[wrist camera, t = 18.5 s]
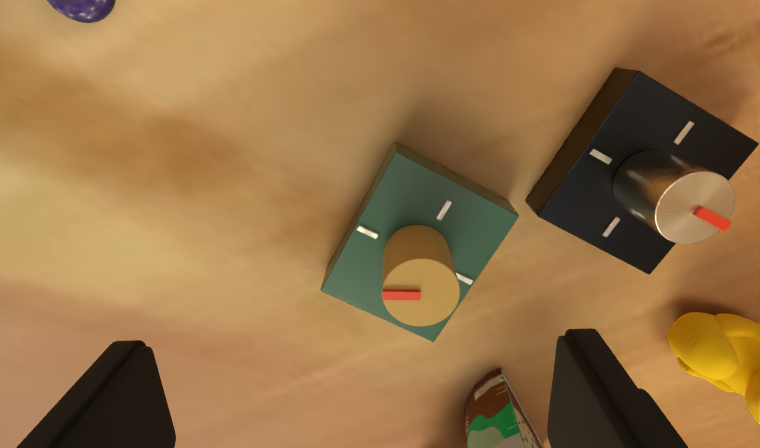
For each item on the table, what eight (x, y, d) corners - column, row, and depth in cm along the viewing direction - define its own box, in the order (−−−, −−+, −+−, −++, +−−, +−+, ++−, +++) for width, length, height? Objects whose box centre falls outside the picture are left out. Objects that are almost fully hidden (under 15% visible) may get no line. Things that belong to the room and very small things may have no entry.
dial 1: (451, 224, 30) (463, 261, 25) (447, 284, 31) (458, 330, 27) (383, 224, 30) (381, 260, 25) (382, 284, 32) (381, 329, 27)
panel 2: (615, 67, 29) (640, 70, 26) (726, 134, 30) (762, 144, 27) (524, 201, 32) (538, 217, 29) (628, 255, 34) (651, 276, 31)
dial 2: (598, 195, 29) (641, 227, 24) (639, 138, 28) (693, 159, 23) (650, 222, 29) (703, 258, 25) (692, 167, 28) (757, 194, 23)
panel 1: (394, 141, 31) (395, 151, 28) (508, 200, 32) (520, 216, 29) (325, 270, 35) (319, 292, 32) (430, 319, 36) (433, 343, 33)
